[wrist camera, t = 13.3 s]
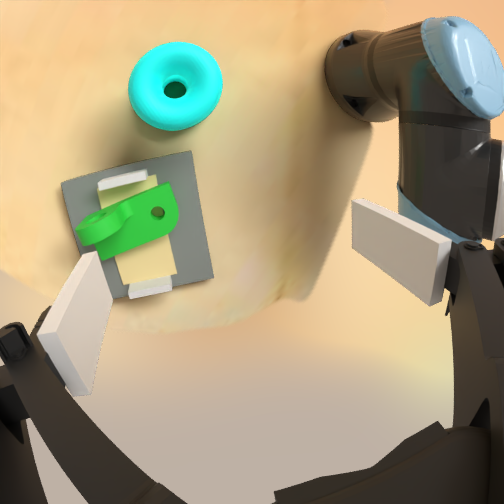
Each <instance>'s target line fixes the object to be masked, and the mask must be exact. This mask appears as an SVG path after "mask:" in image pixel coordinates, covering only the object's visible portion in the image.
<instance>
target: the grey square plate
mask: <svg viewBox="0 0 504 504" xmlns="http://www.w3.org/2000/svg"><path fill="white" fill-rule="evenodd" d="M168 181H169V183H170V185H171V188H172V191H173V193H174V196H175V199H176V201H177V204H178V211H179V217H178V221H177V224H176V226H175V227H174V229H173V230H172V231H171V232H170V233H168V234H167V235H165V236H163V237H160V238H158V239H155V240H152V241H150V242H147V243H145V244H142V245H140V246H137V247H135V248H133V249H130V250H128V251H125V252H123V253H120V254H118V255H115V256H113V257H111V258H108V259H106V260H103V261H102V260H101V258H100V256H99V253H98V251H97V249H96V247H95V245H94V244H91V245H88V246H83V245H82V244H81V241H80V239H79V237H78V235H77V233H76V231H75V228H76V227H77V226H78V225H79V224H80V223H81V222H82V221H83V219H84V218H85V217H86V216H88V215H90V214H92V213H94V212H96V211H99V210H101V209H103V208H105V207H108V206H110V205H112V204H114V203H117V202H119V201H121V200H124V199H126V198H128V197H131V196H133V195H135V194H138V193H140V192H143V191H145V190H148V189H150V188H153V187H155V186H158V185H160V184H163V183H165V182H168ZM61 186H62V191H63V195H64V199H65V203H66V207H67V211H68V214H69V218H70V222H71V225H72V229H73V232H74V236H75V239H76V242H77V246H78V249H79V252H80V255H81V256H82V255H83V254H86V253H90V252H94V251H97V253H98V257H99V260H100V263H101V266H102V269H103V272H104V275H105V278H106V281H107V284H108V287H109V290H110V293H111V295H112V298H113V299H116V298H121V297H125V296H129V298H130V299H134V298H138V297H143V296H148V295H153V294H158V293H163V292H168V291H172V287H174V286H179V285H183V284H188V283H193V282H198V281H202V280H207V279H212V278H214V275H213V269H212V264H211V259H210V254H209V249H208V243H207V238H206V233H205V227H204V222H203V216H202V210H201V205H200V199H199V193H198V187H197V181H196V175H195V169H194V163H193V157H192V151H186V152H181V153H176V154H171V155H166V156H161V157H156V158H152V159H147V160H143V161H138V162H134V163H130V164H126V165H121V166H117V167H113V168H109V169H106V170H102V171H98V172H94V173H91V174H87V175H83V176H80V177H76V178H73V179H70V180H66V181H64V182H62V183H61ZM152 213H153V214H154V215H155V216H162V215H163V214H164V213H165V211H164V209H163V208H161V207H159V206H157V207H154V208H153V209H152Z"/></svg>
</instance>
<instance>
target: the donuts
mask: <svg viewBox="0 0 504 504" xmlns="http://www.w3.org/2000/svg"><path fill="white" fill-rule="evenodd" d="M171 82H181V83H182V84H183V85H184V86H185V87H186V93H185V95H183V96H182V97H180V98H177V99H172V98H169V97H167V96H166V95H165V94H164V89H165V87H166V85H168V84H169V83H171ZM222 87H223V80H222V74H221V70H220V68H219V66H218V64H217V62H216V61H215V59H214V58H213V57H212V56H211V55H210V54H209V53H208V52H207V51H206V50H204V49H203V48H201V47H199V46H197V45H194V44H191V43H186V42H171V43H166V44H163V45H160V46H157V47H155V48H153V49H152V50H150V51H149V52H147V53H146V54H145V55H144V56H143V57H142V58H141V59H140V60H139V61H138V62H137V64H136V65H135V67H134V69H133V71H132V73H131V76H130V79H129V85H128V94H129V99H130V103H131V105H132V107H133V109H134V111H135V112H136V114H137V115H138V116H139V117H140V118H141V119H142V120H143V121H145V122H146V123H148V124H149V125H151V126H153V127H156V128H159V129H163V130H168V131H177V130H183V129H186V128H189V127H192V126H194V125H196V124H198V123H200V122H201V121H203V120H204V119H205V118H206V117H208V116H209V115H210V114H211V112H212V111H213V110H214V109H215V107H216V105H217V104H218V102H219V99H220V96H221V93H222Z"/></svg>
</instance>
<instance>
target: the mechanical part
mask: <svg viewBox="0 0 504 504" xmlns="http://www.w3.org/2000/svg"><path fill="white" fill-rule="evenodd" d="M157 206H159V207H161V208H163V209H164V211H165V213H164V214H163V215H162V216H155V215H154V214H153V213H152V209H153V208H154V207H157ZM178 217H179V211H178V204H177V201H176V199H175V196H174V193H173V191H172V188H171V185H170V183H169V181H168V182H165V183H163V184H160V185H158V186H155V187H153V188H150V189H148V190H145V191H143V192H140V193H138V194H135V195H133V196H131V197H128V198H126V199H124V200H121V201H119V202H117V203H114V204H112V205H110V206H108V207H105V208H103V209H101V210H99V211H96V212H94V213H92V214H90V215H88V216H86V217H85V218H84V219H83V221H82V222H81V223H80V224H79V225H78V226H77V227H76V228H75V231H76V233H77V235H78V237H79V239H80V241H81V244H82V245H83V246H88V245H91V244H94V245H95V247H96V249H97V251H98V253H99V256H100V258H101V260H102V261H103V260H106V259H108V258H111V257H113V256H115V255H118V254H120V253H123V252H125V251H128V250H130V249H133V248H135V247H137V246H140V245H142V244H145V243H147V242H150V241H152V240H155V239H158V238H160V237H163V236H165V235H167V234H168V233H170V232H171V231H172V230H173V229H174V227H175V226H176V224H177V221H178Z"/></svg>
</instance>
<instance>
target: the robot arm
mask: <svg viewBox="0 0 504 504" xmlns="http://www.w3.org/2000/svg"><path fill="white" fill-rule="evenodd" d="M325 75H326V80H327V84H328V87H329V89H330V92H331V94H332V96H333V97H334V99H335V100H336V102H337V103H338V104H339V105H340V107H341V108H342V109H343V110H344V111H346V112H347V113H348V114H350V115H351V116H353V117H354V118H357V119H359V120H362V121H366V122H385V121H389V120H392V119H394V118H396V117H398V116H399V177H398V182H397V190H398V212H399V214H397V213H395V212H393V211H391V210H389V209H386V208H384V207H382V206H380V205H377V204H375V203H373V202H370V201H368V200H366V199H357V200H352V248H353V249H354V250H355V251H357V252H358V253H360V254H361V255H362V256H364V257H365V258H367V259H368V260H369V261H370V262H372V263H373V264H375V265H376V266H377V267H379V268H380V269H381V270H383V271H384V272H385V273H387V274H388V275H389V276H391V277H392V278H393V279H395V280H396V281H397V282H398V283H400V284H401V285H402V286H404V287H405V288H406V289H408V290H409V291H410V292H412V293H413V294H414V295H415V296H417V297H418V298H419V299H420V300H422V301H423V302H424V303H426V304H427V305H428V306H432V305H434V304H436V303H439V302H441V301H442V297H443V293H444V288H446V289H447V290H448V291H450V296H449V300H448V305H447V309H446V313H445V315H446V316H447V315H448V313H449V312H450V318H451V330H452V343H453V363H454V416H453V427H452V428H448V429H444V428H443V427H442V425H441V424H440V423H439V422H438V421H437V422H435V423H433V424H432V425H430V426H428V427H426V428H425V429H423V430H421V431H419V432H418V433H416V434H414V435H413V436H411V437H409V438H407V439H405V440H404V441H403V442H402V443H400V444H399V445H398V446H397V447H396V448H395V449H394V450H393V451H391V452H390V453H389V454H388V455H386V456H385V457H384V458H383V459H382V460H380V461H379V462H378V463H377V464H375V465H374V466H373V467H371V468H368V469H364V470H359V471H354V472H349V473H343V474H337V475H331V476H323V477H319V478H316V479H313V480H310V481H307V482H304V483H301V484H298V485H294V486H291V487H288V488H285V489H281V490H278V491H274V495H275V500H276V502H274V503H272V504H504V238H499V237H501V236H502V235H504V141H501V140H496V139H492V138H491V137H490V119H493V118H495V117H497V116H499V115H500V114H501V113H502V112H503V111H504V70H503V66H502V63H501V61H500V58H499V56H498V54H497V52H496V50H495V48H494V47H493V46H492V44H491V43H490V41H489V40H488V38H487V37H486V36H485V34H484V33H483V32H482V31H481V30H480V29H479V28H478V27H476V26H475V25H474V24H472V23H471V22H469V21H468V20H465V19H463V18H460V17H456V16H448V17H441V18H428V19H425V20H424V21H421V22H418V23H414V24H410V25H407V26H404V27H401V28H397V29H394V30H391V31H388V32H378V31H370V30H358V31H353V32H350V33H348V34H346V35H343V36H341V37H340V38H338V39H337V40H336V41H335V42H334V43H333V44H332V46H331V47H330V49H329V51H328V54H327V57H326V62H325ZM413 123H414V124H413ZM424 124H425V125H424ZM434 125H435V126H434ZM482 239H487V240H491V241H495V243H494V249H493V250H486V248H485V247H484V246H483V245H482V244H480V243H481V242H482ZM112 303H113V298H112V295H111V293H110V290H109V287H108V284H107V281H106V278H105V275H104V272H103V269H102V266H101V263H100V260H99V257H98V253H97V251H94V252H90V253H86V254H83V255H82V256H81V258H80V259H79V261H78V263H77V264H76V266H75V267H74V269H73V271H72V272H71V274H70V276H69V277H68V279H67V281H66V282H65V284H64V286H63V287H62V289H61V291H60V293H59V294H58V296H57V298H56V300H55V301H54V303H53V305H52V306H49V307H48V308H47V309H46V310H45V311H44V312H43V313H42V314H41V316H40V318H39V319H38V322H37V323H36V325H35V328H34V329H33V330H32V332H31V334H30V336H29V335H28V334H27V331H26V329H25V327H24V325H23V324H22V323H20V322H14V323H10V324H8V325H6V326H4V327H2V328H1V329H0V357H1V359H2V360H3V362H4V364H5V365H3V366H0V504H48V502H47V499H46V496H45V493H44V490H43V487H42V484H41V480H40V477H39V474H38V470H37V467H36V463H35V460H34V455H33V451H32V447H31V443H30V438H29V434H28V429H27V424H26V419H27V418H31V420H32V421H33V423H34V425H35V427H36V428H37V430H38V432H39V434H40V435H41V437H42V439H43V440H44V442H45V443H46V445H47V447H48V448H49V450H50V451H51V453H52V454H53V456H54V457H55V459H56V460H57V462H58V463H59V465H60V466H61V468H62V469H63V471H64V472H65V473H66V475H67V476H68V477H69V479H70V480H71V482H72V483H73V484H74V486H75V487H76V488H77V489H78V491H79V492H80V493H81V495H82V496H83V497H84V499H85V500H86V501H87V502H88V503H89V504H187V503H186V502H184V501H183V500H182V499H180V498H179V497H177V496H176V495H175V494H174V493H172V492H171V491H170V490H168V489H167V488H166V487H165V486H163V485H162V484H160V483H156V482H155V481H154V480H153V479H151V478H150V477H149V476H148V475H147V474H145V473H144V472H143V471H142V470H141V469H140V468H138V467H137V465H135V464H134V463H133V462H132V461H131V460H130V459H129V458H128V457H127V456H126V455H125V454H124V453H123V452H122V451H121V450H120V449H119V448H118V447H116V445H115V444H113V442H112V441H111V440H109V438H108V437H107V436H106V435H105V434H104V433H103V432H102V431H101V430H100V429H99V428H98V427H97V426H96V424H95V423H94V422H93V421H92V420H91V419H90V418H89V417H88V416H87V414H86V413H85V412H84V411H83V410H82V409H81V407H80V406H79V405H78V404H77V403H76V402H75V400H74V399H73V398H72V397H71V395H70V394H69V393H68V392H67V390H66V389H65V385H66V386H67V388H68V390H69V391H70V393H71V394H72V396H84V395H91V393H92V387H93V382H94V377H95V372H96V368H97V363H98V358H99V353H100V350H101V345H102V341H103V337H104V332H105V329H106V325H107V321H108V317H109V314H110V310H111V306H112Z"/></svg>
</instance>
